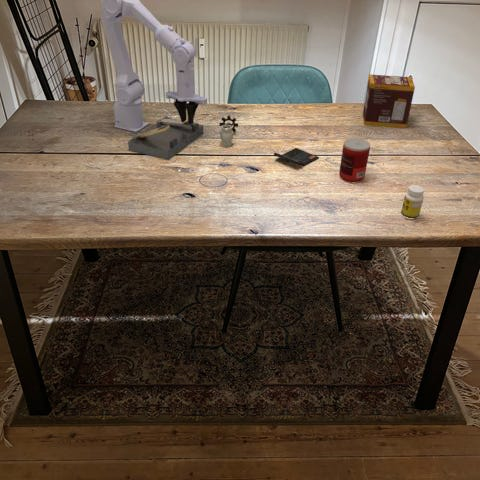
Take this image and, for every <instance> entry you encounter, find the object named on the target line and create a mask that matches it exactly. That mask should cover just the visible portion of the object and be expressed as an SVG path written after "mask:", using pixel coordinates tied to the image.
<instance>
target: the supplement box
mask: <svg viewBox="0 0 480 480" xmlns="http://www.w3.org/2000/svg"><path fill="white" fill-rule="evenodd" d="M367 79H368V81H367V86H366V91H365V97H364V99H365V100H364V105H363V110H362V119H363V125H364V126H369V125H371V127H382V126H385V127H386V128H395V127H396V129H397V128H398V129H407V126H408V121H409V116H410V111H411V107H412V102H413V98H414V93H415V88H416V87H415V84H414V82H413V78H412V77H410V76H400V75H399V76H397V75H384V74H383V75H382V74H380V75H379V74H371V73H370V74H368V78H367Z"/></svg>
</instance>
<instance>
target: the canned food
mask: <svg viewBox="0 0 480 480" xmlns="http://www.w3.org/2000/svg"><path fill="white" fill-rule="evenodd" d="M370 149H371V143H370V142H369V141H368V140H365V139H363V138H360V137H359V138H357V137H352V138H348V139H345V140H344V142H343V145H342V152H341V157H340V158H341V159H340V165H339V172H338V173H339V178H340V179H341V180H343V181H344V182H347V183H352V182H355V183H360V182H362V181H363V180H364V179H365V176H366V172H367V167H368V160H369V155H370Z"/></svg>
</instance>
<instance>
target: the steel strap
mask: <svg viewBox="0 0 480 480" xmlns="http://www.w3.org/2000/svg"><path fill="white" fill-rule="evenodd" d="M174 119H175V118H172V119H164V118H163V120H162V119H161V120H160V121H161V124H168V125H176V126H184V127H192V125H194V124H195V123H196V122H195V121H193V122H192V123H191V124H190V123H188V120H186V121H185V122H181V119H177V120H174Z"/></svg>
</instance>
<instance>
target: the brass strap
mask: <svg viewBox="0 0 480 480" xmlns="http://www.w3.org/2000/svg"><path fill="white" fill-rule="evenodd" d="M168 128H170V126H169V125H168V124H167V125H164V126H162V127H160V128H157V129H154V130H150V131H147V132H143V133H141V132H140V133H139V134H137V135H138V138H142V137H145V136H149V135H152V134H155V133H159V132H162V131H165V130H167V129H168Z"/></svg>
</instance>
